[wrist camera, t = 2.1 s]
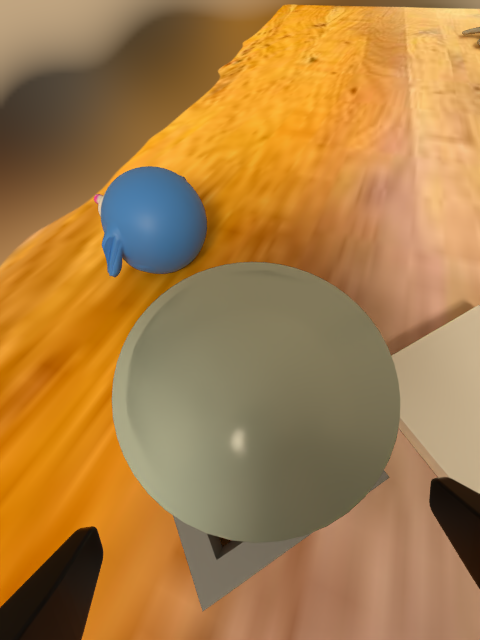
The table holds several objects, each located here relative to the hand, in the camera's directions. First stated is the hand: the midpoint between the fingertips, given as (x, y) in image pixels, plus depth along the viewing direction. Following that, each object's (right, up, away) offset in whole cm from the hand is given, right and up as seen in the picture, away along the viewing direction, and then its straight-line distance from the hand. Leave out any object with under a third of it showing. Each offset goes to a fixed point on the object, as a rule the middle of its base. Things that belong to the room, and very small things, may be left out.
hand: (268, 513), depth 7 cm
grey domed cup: (0, -2, +11) cm, 11 cm away
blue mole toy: (-9, +12, +20) cm, 25 cm away
